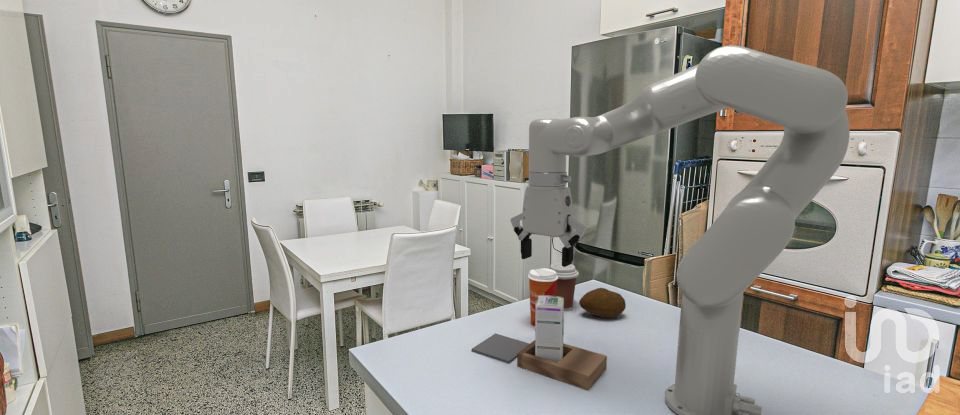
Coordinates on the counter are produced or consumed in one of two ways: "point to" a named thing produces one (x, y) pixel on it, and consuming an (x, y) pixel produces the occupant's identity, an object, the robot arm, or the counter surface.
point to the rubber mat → (500, 348)
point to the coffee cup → (565, 283)
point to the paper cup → (541, 287)
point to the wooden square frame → (566, 365)
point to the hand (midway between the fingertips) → (546, 261)
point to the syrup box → (549, 328)
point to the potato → (603, 303)
